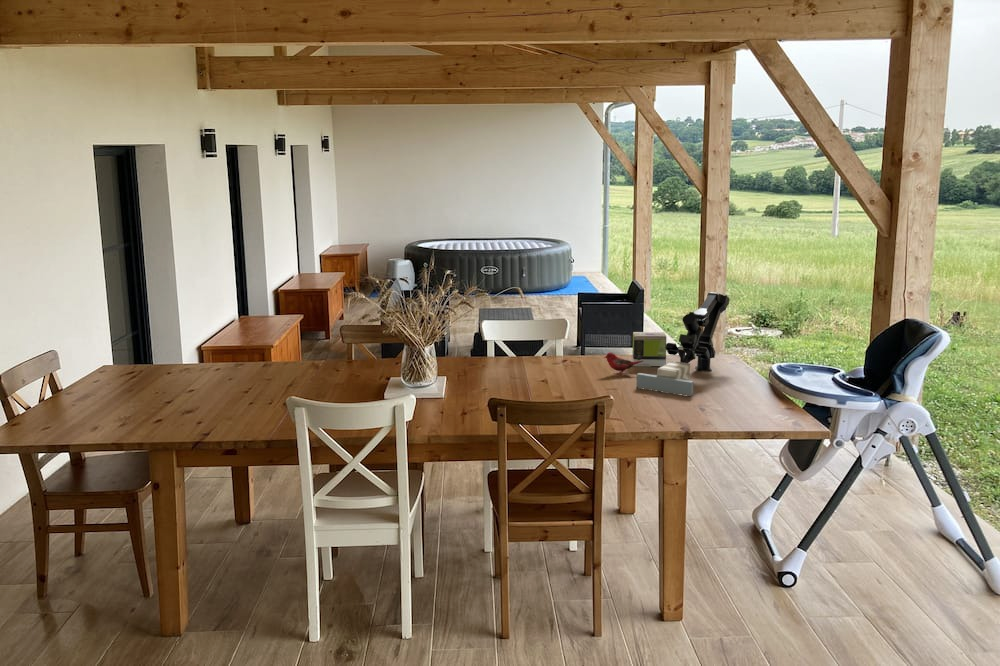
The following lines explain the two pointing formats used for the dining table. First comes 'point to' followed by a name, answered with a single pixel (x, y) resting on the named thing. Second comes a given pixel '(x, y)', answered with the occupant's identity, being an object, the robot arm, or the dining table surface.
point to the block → (675, 370)
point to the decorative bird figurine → (619, 363)
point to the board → (665, 384)
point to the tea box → (649, 348)
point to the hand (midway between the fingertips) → (681, 367)
